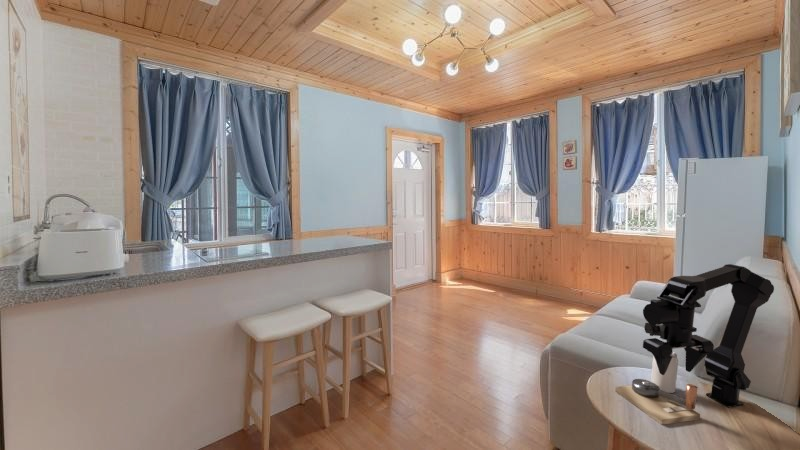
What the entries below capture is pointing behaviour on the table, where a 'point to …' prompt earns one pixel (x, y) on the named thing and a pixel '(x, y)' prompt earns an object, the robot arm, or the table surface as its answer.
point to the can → (666, 375)
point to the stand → (658, 407)
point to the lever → (654, 391)
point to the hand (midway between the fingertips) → (675, 372)
